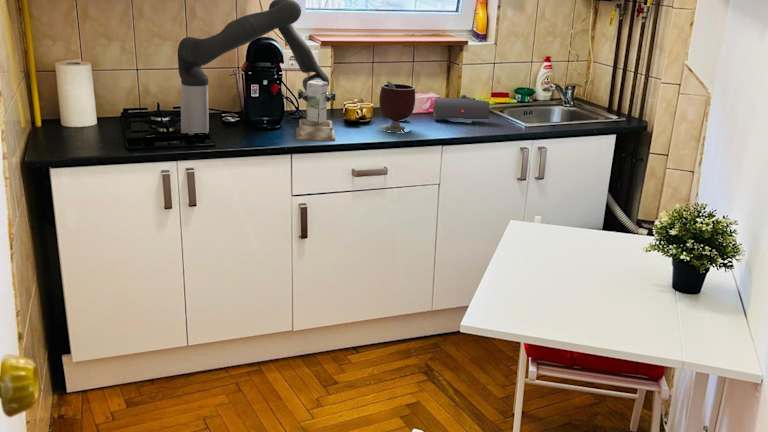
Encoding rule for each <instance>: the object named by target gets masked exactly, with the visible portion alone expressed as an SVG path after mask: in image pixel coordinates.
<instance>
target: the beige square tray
mask: <svg viewBox="0 0 768 432" xmlns="http://www.w3.org/2000/svg"><path fill="white" fill-rule="evenodd" d="M298 125H299V127H296V129H295V130H296V131H295V132H296V135H295V139H296V140H311V141H312V140H313V141H331V140H335V141H336V136H335V129H334V128H333V121H332V120H327V119H326V121H324V122H321V123H316V122H310V121H306V118H303V119H300V118H299V123H298Z"/></svg>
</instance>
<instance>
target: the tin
mask: <svg viewBox="0 0 768 432" xmlns="http://www.w3.org/2000/svg"><path fill="white" fill-rule="evenodd" d="M351 103H363V104H364V99H363V98H355V99H354V100H352V101H351V102H350V104H351Z"/></svg>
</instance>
